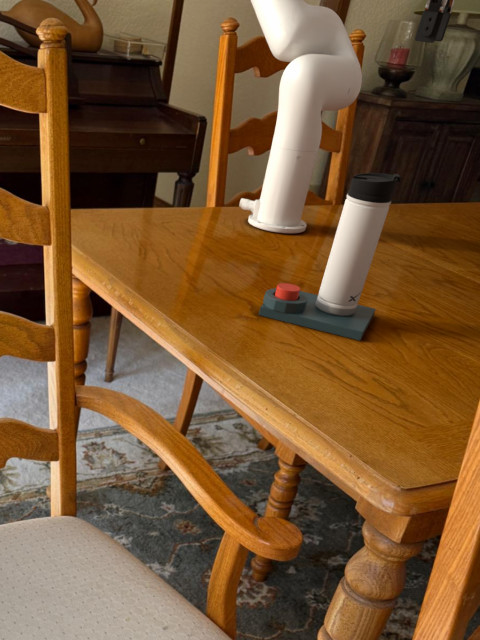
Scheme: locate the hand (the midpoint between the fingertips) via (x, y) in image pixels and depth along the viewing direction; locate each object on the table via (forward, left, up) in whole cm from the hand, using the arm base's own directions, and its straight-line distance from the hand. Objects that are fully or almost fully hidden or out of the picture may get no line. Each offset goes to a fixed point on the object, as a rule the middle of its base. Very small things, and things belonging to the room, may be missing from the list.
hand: (428, 41), depth 123 cm
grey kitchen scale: (0, -39, -36) cm, 53 cm away
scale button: (-5, -42, -33) cm, 54 cm away
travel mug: (+2, -38, -35) cm, 52 cm away
